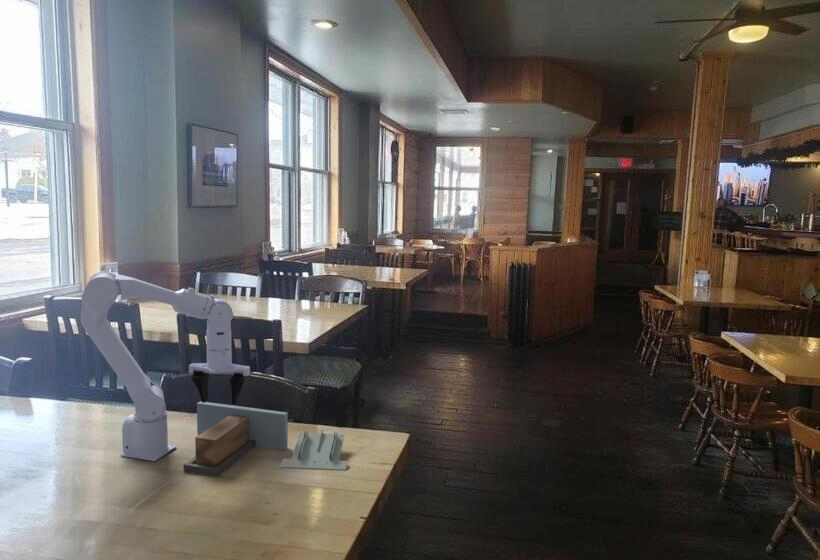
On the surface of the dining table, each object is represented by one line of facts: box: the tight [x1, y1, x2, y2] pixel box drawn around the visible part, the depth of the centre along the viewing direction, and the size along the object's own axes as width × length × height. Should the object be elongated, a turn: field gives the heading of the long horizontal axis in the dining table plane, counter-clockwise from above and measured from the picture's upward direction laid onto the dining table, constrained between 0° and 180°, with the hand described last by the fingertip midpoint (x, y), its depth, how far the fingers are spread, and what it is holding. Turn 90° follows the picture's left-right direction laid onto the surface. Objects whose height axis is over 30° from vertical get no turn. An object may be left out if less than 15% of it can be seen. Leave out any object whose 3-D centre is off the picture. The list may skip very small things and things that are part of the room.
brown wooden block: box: [194, 415, 248, 467], centre depth 134 cm, size 5×14×7 cm, turn 166°
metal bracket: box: [279, 428, 348, 472], centre depth 136 cm, size 14×6×15 cm
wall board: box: [183, 400, 289, 477], centre depth 134 cm, size 24×18×9 cm
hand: (219, 402), depth 141 cm, fingers open, 7 cm apart
